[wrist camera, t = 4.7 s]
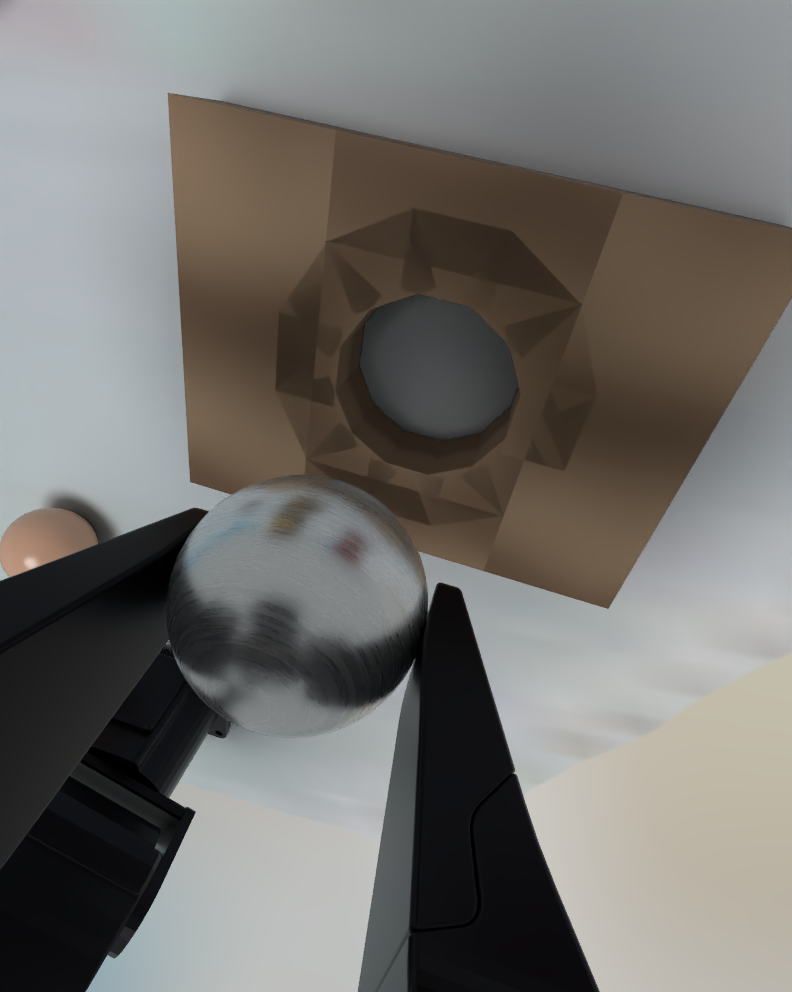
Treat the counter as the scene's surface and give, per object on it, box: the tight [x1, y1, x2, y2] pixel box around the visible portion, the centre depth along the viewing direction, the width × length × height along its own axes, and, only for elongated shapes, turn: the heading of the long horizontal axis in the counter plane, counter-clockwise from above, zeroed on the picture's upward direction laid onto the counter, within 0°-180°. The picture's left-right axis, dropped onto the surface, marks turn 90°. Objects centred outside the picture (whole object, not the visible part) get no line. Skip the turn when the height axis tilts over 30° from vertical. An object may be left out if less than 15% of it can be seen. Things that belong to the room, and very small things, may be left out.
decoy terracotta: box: [0, 508, 98, 577], centre depth 26 cm, size 4×4×4 cm
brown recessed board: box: [168, 93, 792, 609], centre depth 17 cm, size 12×16×2 cm
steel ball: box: [166, 475, 428, 738], centre depth 8 cm, size 4×4×4 cm
